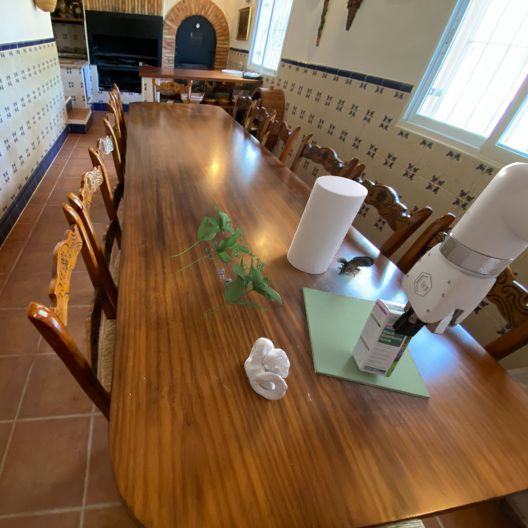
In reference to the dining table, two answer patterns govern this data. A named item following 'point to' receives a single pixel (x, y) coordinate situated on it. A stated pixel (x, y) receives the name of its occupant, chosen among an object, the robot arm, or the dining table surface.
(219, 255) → the plant cuttings
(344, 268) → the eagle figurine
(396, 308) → the syrup box
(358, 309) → the felt mat
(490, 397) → the dining table surface
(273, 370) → the baby figurine
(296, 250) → the cylinder
